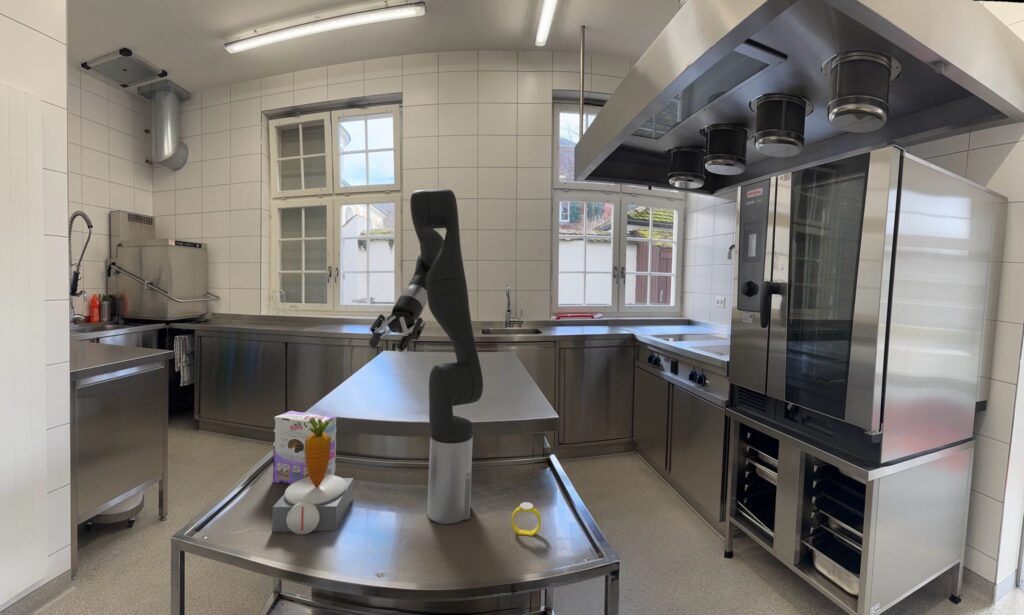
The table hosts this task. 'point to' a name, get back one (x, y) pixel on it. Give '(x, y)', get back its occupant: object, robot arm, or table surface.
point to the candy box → (298, 445)
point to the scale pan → (315, 490)
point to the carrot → (317, 452)
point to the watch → (526, 508)
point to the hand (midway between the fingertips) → (385, 348)
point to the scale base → (311, 513)
